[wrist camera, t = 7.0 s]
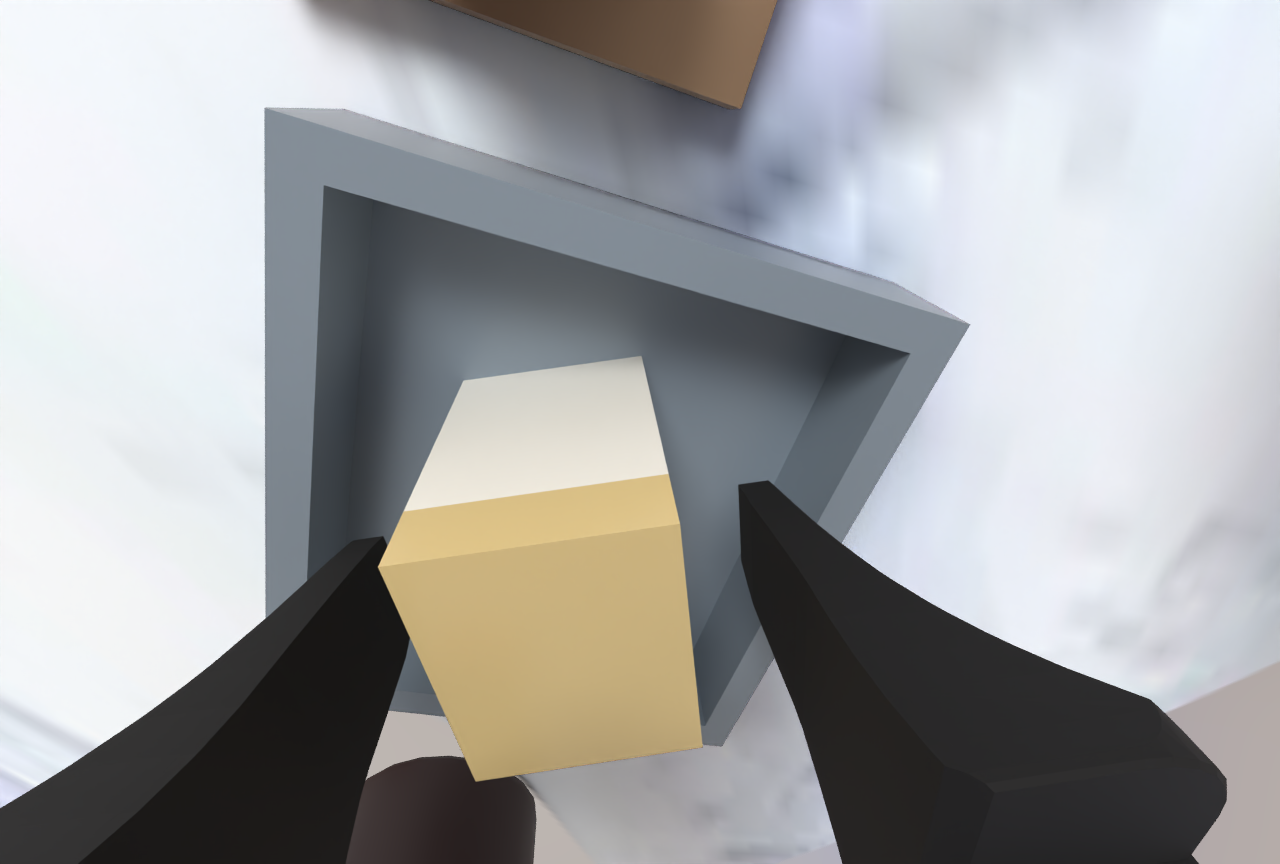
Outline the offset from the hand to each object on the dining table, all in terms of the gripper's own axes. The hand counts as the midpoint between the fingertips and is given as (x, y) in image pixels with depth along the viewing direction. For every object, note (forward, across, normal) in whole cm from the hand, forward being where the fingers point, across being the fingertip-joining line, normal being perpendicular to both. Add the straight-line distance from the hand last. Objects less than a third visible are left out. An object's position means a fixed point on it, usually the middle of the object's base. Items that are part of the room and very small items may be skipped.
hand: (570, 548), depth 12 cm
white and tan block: (+3, 0, 0) cm, 3 cm away
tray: (+3, 0, 0) cm, 3 cm away
